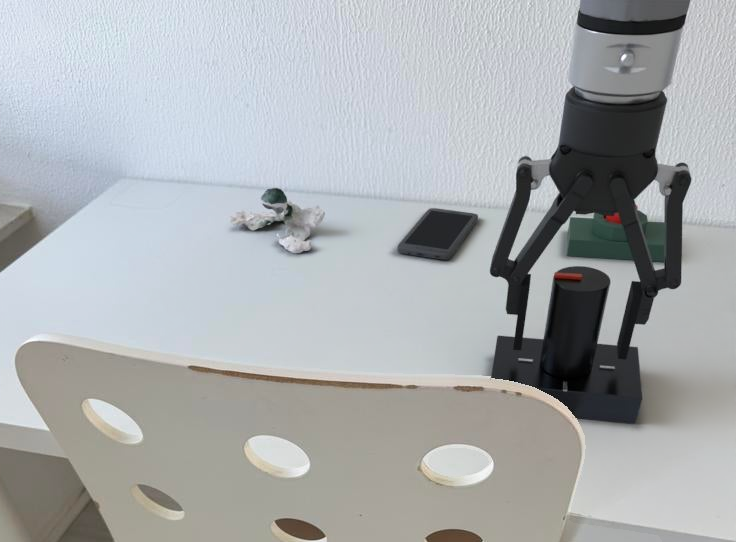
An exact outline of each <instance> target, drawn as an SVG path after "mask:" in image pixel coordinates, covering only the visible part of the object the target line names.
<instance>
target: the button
mask: <svg viewBox="0 0 736 542" xmlns="http://www.w3.org/2000/svg"><path fill="white" fill-rule="evenodd" d="M636 208H637V210H639V209H638V208H639V206H638V205H637V204H636ZM606 220H607V221H610V222H613V223H617V224H622V223H621V220H620V217H619V214H618V213H615V214H614V216H606Z"/></svg>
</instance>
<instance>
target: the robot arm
mask: <svg viewBox="0 0 736 542" xmlns="http://www.w3.org/2000/svg"><path fill="white" fill-rule="evenodd" d="M691 2H692V1H691V0H579V8H578V11H577V18H576V22H575V27H574V34H573V35H574V36H573V40H572V42H573V43H572V47H571V55H570V63H569V69H568V76H567V81H568V82H569V83H570V84H571V86H572V87H571V88H570V89H568V91H567V92H566V94H565V96H564V103H563V110H562V117H561V123H560V132H559V137H558V143H557V144H558V145H557V148H556V149H555V151H554V153H553V154H552V155H551V157H550V158H546V159H535V160H533V159H532V158H531V157H529V156H527V155H525V156H521V157H520V158H519V160H518V161H517V167H516V173H515V192H514V194H513V198H512V200H511V202H510V206H509V207H508V211H507V213H506V217H505V220H504V224H503V225H502V229H501V231H500V234H499V237H498V240H497V242H496V246H495V249H494V252H493V254H492V257H491V261H490V267H489V273H490V274H489V275H490V276H491V277H494V278H499V277H500V278H502V279H504V280H506V282H507V294H506V302H505V312H506V314H507V315H513V316H517V317H516V322H515V323H516V325H515V331H514V337H515V339H514V347H513V350H521V347H522V339H523V338H524V331H525V326H526V325H525V323H526V318H527V317H526V316H527V310H528V303H529V294H530V288H531V278H532V274H531V273H530V271H531V270H532V268H533V267H534V266H535V264H536V263H537V261H538V260H539V258H540V257H541V256H542V255H543V253H544V252H545V250H546V249H547V248H548V246H549V245H550V243H551V242H552V240H553V239H554V238H555V236H556V235H557V233H558V231H560V229H561V227H562V226H563V225H564V224H566V222H567V221H568V220H569V219H570V217H572V214H573V213H574V212H575V215H583V216H584V215H590V214H594V213H598V214H601V215H604V216H614V214H615V213H618V214H619V217H620V220H621V223H622V226H623V228H624V231H625V234H626V237H627V241H628V244H629V247H630V250H631V253H632V257H633V260H632V261H633V263H634V266H635V269H636V272H637V276H638V279H639V280H638V281H637V280H631V282H630V287H629V292H628V296H627V300H626V305H625V307H624V313H623V317H622V321H621V326H620V330H619V334H618V338H617V343H616V345H617V351H618V359H626V358H627V354H628V350H629V346H631V342H632V338H633V333H634V330H635V326H636V325H643V326H644V325H646V324H647V322H648V321H649V319H650V314H651V311H652V307H653V304H654V300H655V298H656V297H657V296H658V294H659V291H661V290H665V289H669V290H676V289H678V288H680V286H681V284H682V265H683V264H682V263H683V262H682V261H683V214H684V213H683V211H684V210H683V208H684V206H683V205H684V204H683V203H684V201H685V198H686V196H687V194H688V191H689V188H690V186H691V184H692V176H691V172H690V168H689V165H688V164H687V162H686V163H685V162H679V163H676V164H675V165H669V164H663V163H658V160H657V157H656V152H657V146H658V142H659V139H660V133H661V129H662V125H663V121H664V115H665V112H666V108H667V103H668V98H667V96H666V94H665V92H664V90H666V89H667V88H668V87H669V86H670V85H671V84H672V81H673V76H674V71H675V66H676V63H677V57H678V54H679V48H680V43H681V40H682V39H681V38H682V35H683V30H684V26H685V24H686V21H687V15H688V12H689V8H690V4H691ZM548 176H550V178H551V180H552V181H553V184H554V185H555V187H556V189H557V190H558V193H557V195H556V197H555V198H554V200H553V201H552V204H551V206H550V208H549V209H548V211H547V212H546V213H545V215H544V216H543V218H542V219H541V220H540V222H539V223H538V225H537V227H536V228H535V229H534V231H533V232H532V234H531V235H530V236H529V238H528V239H527V241H526V243H525V244H524V245H523V247H522V248H521V249H520V251H519V253H518V254H517V256H516V257H515V259H514V260H512V259H510V258H509V257H510V255H511V253H512V249H513V246H514V245H515V241H516V238H517V236H518V233H519V230H520V228H521V225H522V222H523V220H524V217H525V214H526V211H527V208H528V205H529V203H530V200H531V193H532V191H535V190H537V189H539V188H540V187H541V185H542V182H543V180H544V178H546V177H548ZM654 181H656V182H657V183H658V190H659V193H660V194H661V195H662V196H664V212H663V213H664V218H663V222H664V262H663V266H664V267H663V268H660V269H656V268H655V266H654V263H653V261H652V259H651V256H650V253H649V249H648V246H647V242H646V239H645V236H644V232H643V229H642V226H641V222H640V219H639V216H638V212H637V210H638V209H637V208H636V205H637V204H636V200H635V199H637V198H638V196H640V194H641V193H643V192H644V191H645V190H646V189H647V188H648V187H649V186H650V185H651V184H652V183H653V182H654ZM655 269H656V270H655Z"/></svg>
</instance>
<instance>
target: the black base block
mask: <svg viewBox="0 0 736 542" xmlns="http://www.w3.org/2000/svg"><path fill="white" fill-rule="evenodd" d="M514 339H515V336H510V335H509V336H508V335H497V336H496V343H495V348H494V354H493V355H494V356H493V361H492V366H491V367H492V368H491V374H490V379H491V378H495V379H503V380H509V381H514V382H518V383H521V384H525V385H529V386H532V387H535V388H537V389H539V390H541V391H543V392H545V393H547V394H549V395H551V396H553V397H554V398H556V399H558V400H559V401H560V402H562V403H563V404H564V405H565V406H567V407H568V409H569V410H570V411H571V412H572V414H573V415H574V416H575V418H574V419H583V420H595V421H604V422H613V423H622V424H623V423H624V424H633V425H634V424H636V423H637V421H638V420H637V419H638V416H639V412H640V408H641V406H642V402H643V389H642V378H641V377H642V376H641V367H640V366H641V365H640V355H639V347H638V346H631V345H630V346H629V350H628V354H627V358H626V359H618V351H617V344H605V343H604V344H603V343H597V348H596V352H595V357H594V362H593V366H592V369H591V371H590V372H589V373H588V374H586V375H585V376H582V377H578V378H561V377H557V376H554V375H551V374H549V373H548V372H546V371H545V370H544V369H543V368H542V367H541V364H540V358H541V352H542V346H543V340H544V338H535V337H534V338H532V337H523V339H522V347H521V350H513V347H514Z"/></svg>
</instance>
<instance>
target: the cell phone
mask: <svg viewBox="0 0 736 542" xmlns="http://www.w3.org/2000/svg"><path fill="white" fill-rule="evenodd" d="M478 219H479V215H478V214H477V213H474V212H468V211H460V210H459V211H458V210H451V209H444V208H436V207H431V208H428V209H427V210H426V211H425V212H424V214H422V216H421V217H420V218H419V220H418V221H417V222H416V223H415V224H414V225H413V227H412V228H411V229H410V230H409V231H408V233H406V235H405V236H404V237H403V239H401V241H400V242H399V243H398V245H397V252H398V253H400V254H405V255H411V256H418V257H425V258H431V259H436V260H443V261H444V260H445V261H446V260H450V259H451V258H452V257H453V256H454V254H455V253H456V252H457V250H458V249H459V247H460V246H461V245H462V243H463V242H464V241H465V239H466V237H467V236H468V235H469V234H470V232H471V231H472V230H473V228H474V227H475V225H476V224H477V222H478Z"/></svg>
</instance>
